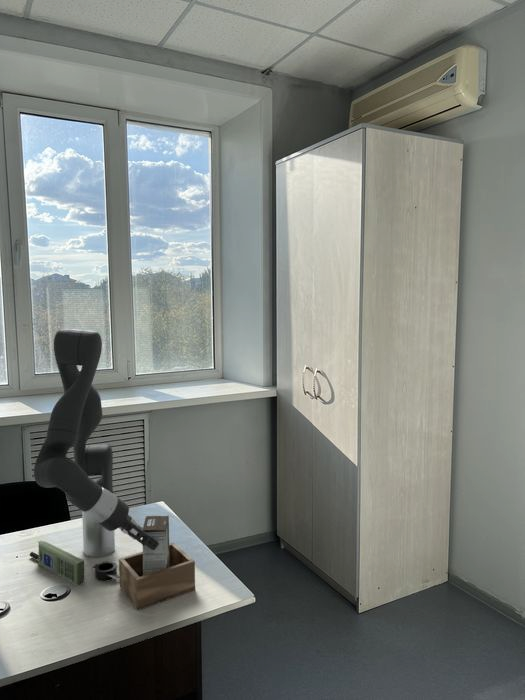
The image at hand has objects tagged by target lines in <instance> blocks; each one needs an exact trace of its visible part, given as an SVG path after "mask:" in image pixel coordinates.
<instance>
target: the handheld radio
mask: <svg viewBox="0 0 525 700" xmlns="http://www.w3.org/2000/svg"><path fill="white" fill-rule="evenodd" d="M37 543H38V551H37V552H38V553H35V552H33V551H30V553H29V556H30V557H32V558H33V559H35V560H36V561H38V566H40V567H42V568H44V569H45V570H48V571H49V572H51V573H54V574H55V575H57V576H59V577H61V578H62V579H65V580H66V581H68V582H70V583H71V584H73V585H75V586H80V585H82V584H84V583H85V560H84V559H82V558H80V557H78V556H76V555H74V554H72V553H69V552H67V551H66V550H65V549H62V548H60V547H57V546H56V545H53V544H52V543H49V542H47V541H43V540H40V541H37Z"/></svg>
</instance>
